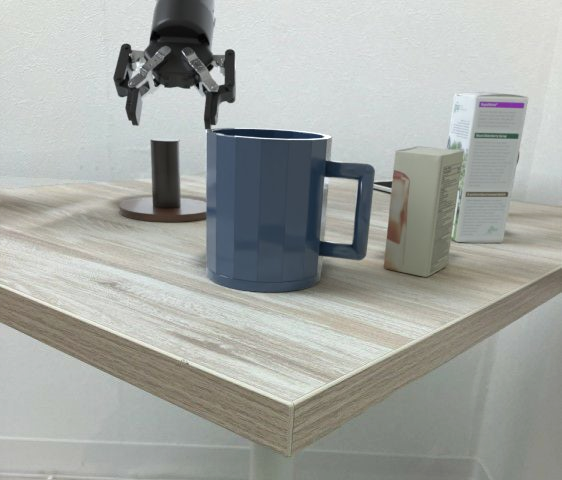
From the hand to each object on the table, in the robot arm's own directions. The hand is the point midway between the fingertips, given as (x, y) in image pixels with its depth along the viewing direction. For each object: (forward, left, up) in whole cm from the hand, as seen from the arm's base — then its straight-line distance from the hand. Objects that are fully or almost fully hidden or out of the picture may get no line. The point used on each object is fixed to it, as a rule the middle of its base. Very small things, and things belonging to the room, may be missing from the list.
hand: (171, 122), depth 75 cm
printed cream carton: (+31, -16, -10) cm, 36 cm away
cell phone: (+26, +28, -10) cm, 39 cm away
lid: (+1, -4, -9) cm, 10 cm away
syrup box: (+35, 0, -10) cm, 36 cm away
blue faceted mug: (+21, -24, -9) cm, 33 cm away
